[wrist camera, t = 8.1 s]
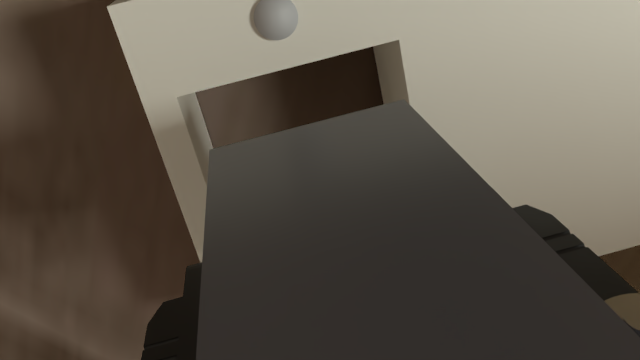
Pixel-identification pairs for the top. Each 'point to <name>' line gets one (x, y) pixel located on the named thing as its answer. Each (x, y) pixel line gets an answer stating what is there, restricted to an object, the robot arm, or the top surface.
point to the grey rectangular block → (382, 255)
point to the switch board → (424, 88)
